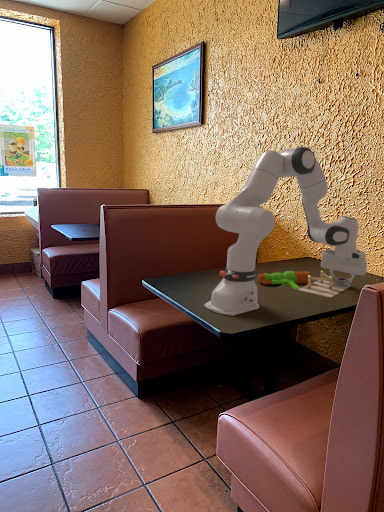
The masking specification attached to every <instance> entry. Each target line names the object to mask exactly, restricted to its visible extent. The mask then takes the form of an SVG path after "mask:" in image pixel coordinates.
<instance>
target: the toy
mask: <svg viewBox="0 0 384 512" xmlns="http://www.w3.org/2000/svg"><path fill="white" fill-rule="evenodd" d="M308 276H312V275H311V273H310V272H309V271H307V270H306V271H294V270H286V271H283V273H282V272H273V273H266V272H264V273H259V274H258V275H257V281H258V282H259V283H260V284H263V285H281V286H284V287H286V286H289V287H290V288H292V289H294V290H296V289H297V290H298V289H300V288H301V287H300V286H299V285H298V284H302V285H308Z"/></svg>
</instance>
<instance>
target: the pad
mask: <svg viewBox="0 0 384 512" xmlns="http://www.w3.org/2000/svg"><path fill="white" fill-rule="evenodd" d="M351 285H352V284H351ZM351 285H350V284H349V285H348V286H347V287H345V288H344V287H339V286H335V285H333V284H332V286H334V287H339V288H343V289H345V290H347V289H349V288H350V287H351ZM346 288H347V289H346Z"/></svg>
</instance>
